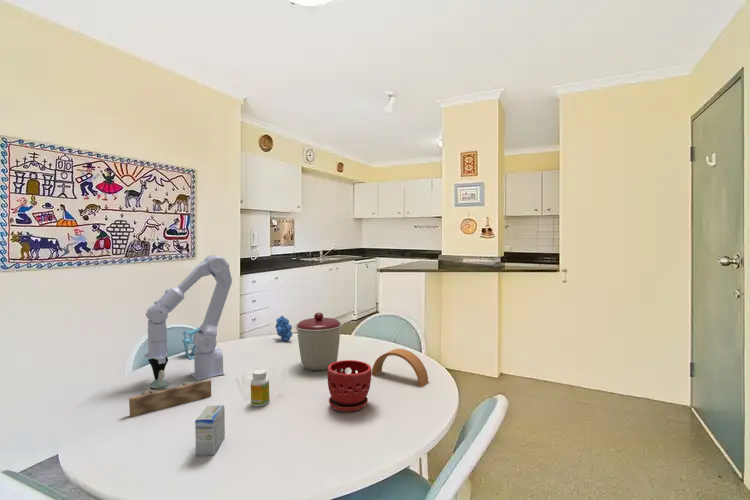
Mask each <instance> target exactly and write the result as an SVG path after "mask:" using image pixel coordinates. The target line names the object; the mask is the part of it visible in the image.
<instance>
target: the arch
mask: <svg viewBox="0 0 750 500" xmlns="http://www.w3.org/2000/svg"><path fill="white" fill-rule="evenodd" d="M389 356H395V357H399V358H401V359H402V360H404V361H406V362H407V364H409V365H410V367H411V368H412V369H413V371H414V372H415V375H416V378H417V383H418V384H417V385H418V387H420V388H421V387H423V386H425V385H426V384H427V383H428V382H429V376H428V372H427V369H426V366H425V365H424V363H423V361H422V360H421V359H420V358H419V357H418V356H417V354H415V353H414V352H412V351H409V350H407V349H404V348H394V349H392V350H390V351H388V352H385V353H384V354H382V355H380V356H379V357H378V358H377V359H376V360H375V361H374V364H373V365H372V367H371V377H372V376H373V377H375V376H377V375H378V374H380V373H382V372H383V365H384V362H385V361H386V359H387V358H388V357H389Z"/></svg>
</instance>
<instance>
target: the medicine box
mask: <svg viewBox="0 0 750 500" xmlns="http://www.w3.org/2000/svg"><path fill="white" fill-rule="evenodd" d="M225 414H226V413H225V405H224V404H223V405H222V404H221V405H219V404H218V405H216V404H215V405H206V407H204V409H203V411H202V412H201V413H200V414H199V416H198V417H197V418H196V419H195V420H194V423H195V424H194V425H195V426H194V429H195V432H194V433H195V434H194V436H195V456H196V457H205V456H206V457H207V456H215V455H216V453H217V451H218V450H219V448H220V447H221V444H222V443H223V441H224V439H225V436H226V435H225V433H226V427H225V424H226V423H225V420H226V419H225Z"/></svg>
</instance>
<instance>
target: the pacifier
mask: <svg viewBox="0 0 750 500" xmlns="http://www.w3.org/2000/svg"><path fill="white" fill-rule="evenodd" d="M165 375H166V373H165V370H164V371H163V370H160V372H159V375H158V379H156V380H155V379H154V380H153V381H151V383H150V386H148V387H147V389H146V390H148V391H149V393H153V392H157V391H162V390H165V388H166V387H167V386H170V383H167V381H166V380H165V379H164V378H165Z"/></svg>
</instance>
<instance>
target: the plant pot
mask: <svg viewBox="0 0 750 500" xmlns="http://www.w3.org/2000/svg"><path fill="white" fill-rule="evenodd" d="M346 369H350V370H351V372H350V373H346ZM341 370H342V371H341ZM356 371H357V372H356ZM326 378H327V387H328V391H329V394H330V397H329V398H328V403H329V406H330V407H331V408H333V409H335V410H336V411H339V412H343V413H344V412H345V413H346V412H348V413H349V412H350V413H351V412H357V411H359V410H362V409H364V408H365V406H367V404H368V401H369V399H368V397H367V396H368V394H369V392H370V387H371V381H372V366H371V365H370V363H369V364H368V363H367V362H365V361H360V360H354V359H353V360H352V359H347V360H345V359H343V360H337V362H334V363H331V364H330V365H329V366H328V369H327V377H326Z"/></svg>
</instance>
